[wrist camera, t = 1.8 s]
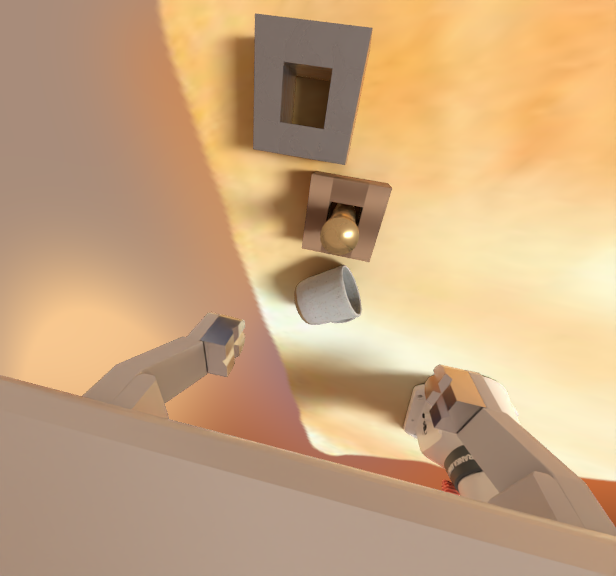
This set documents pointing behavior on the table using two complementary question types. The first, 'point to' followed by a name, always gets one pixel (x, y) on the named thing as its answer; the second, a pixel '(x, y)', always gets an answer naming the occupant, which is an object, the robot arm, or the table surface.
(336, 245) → the pin
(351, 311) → the ceramic mug
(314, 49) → the socket
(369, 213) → the mount
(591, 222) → the table surface
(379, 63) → the table surface
